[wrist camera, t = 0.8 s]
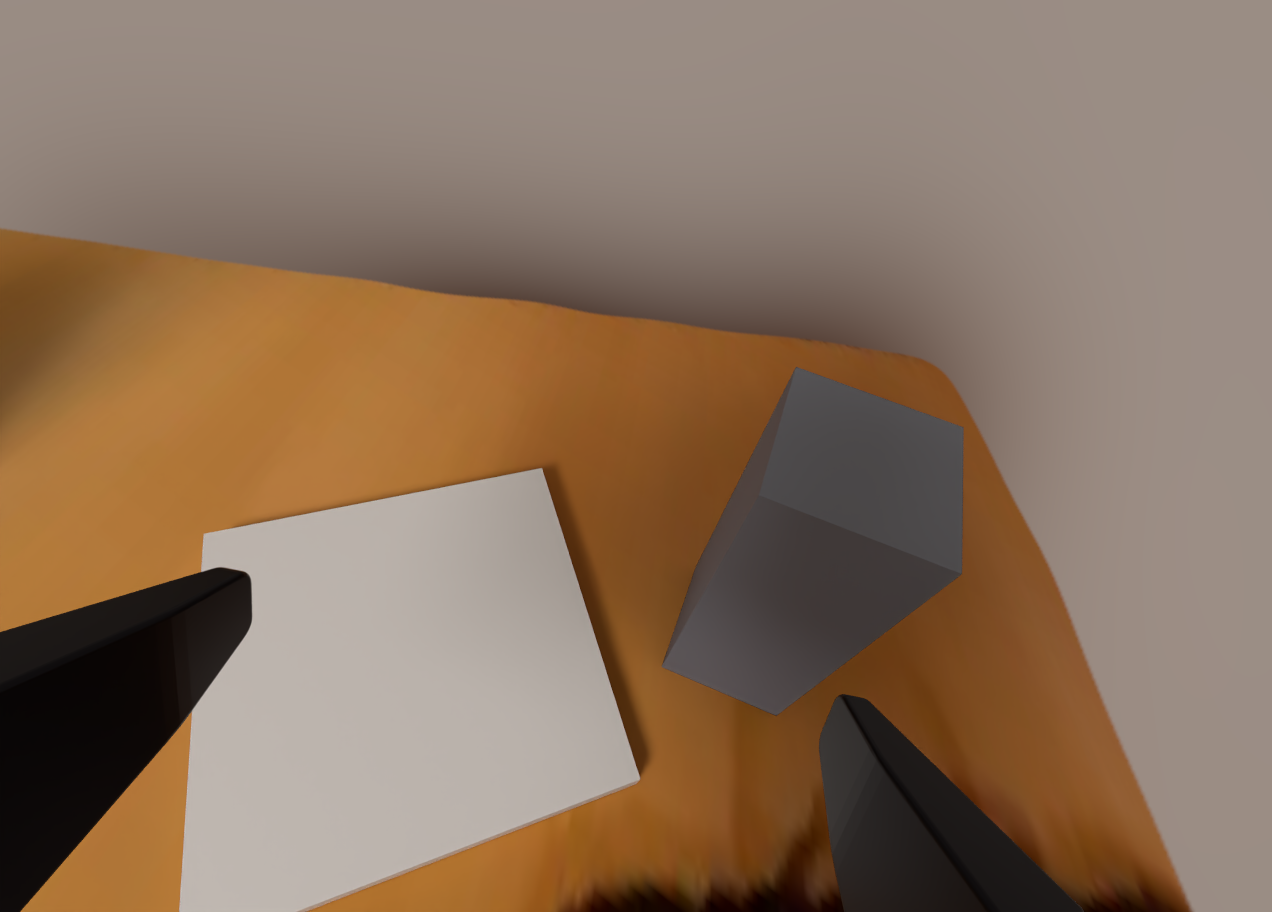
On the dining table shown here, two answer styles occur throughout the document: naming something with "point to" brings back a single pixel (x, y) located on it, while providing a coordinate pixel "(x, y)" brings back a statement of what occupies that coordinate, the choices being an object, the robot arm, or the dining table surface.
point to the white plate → (394, 696)
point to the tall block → (822, 543)
